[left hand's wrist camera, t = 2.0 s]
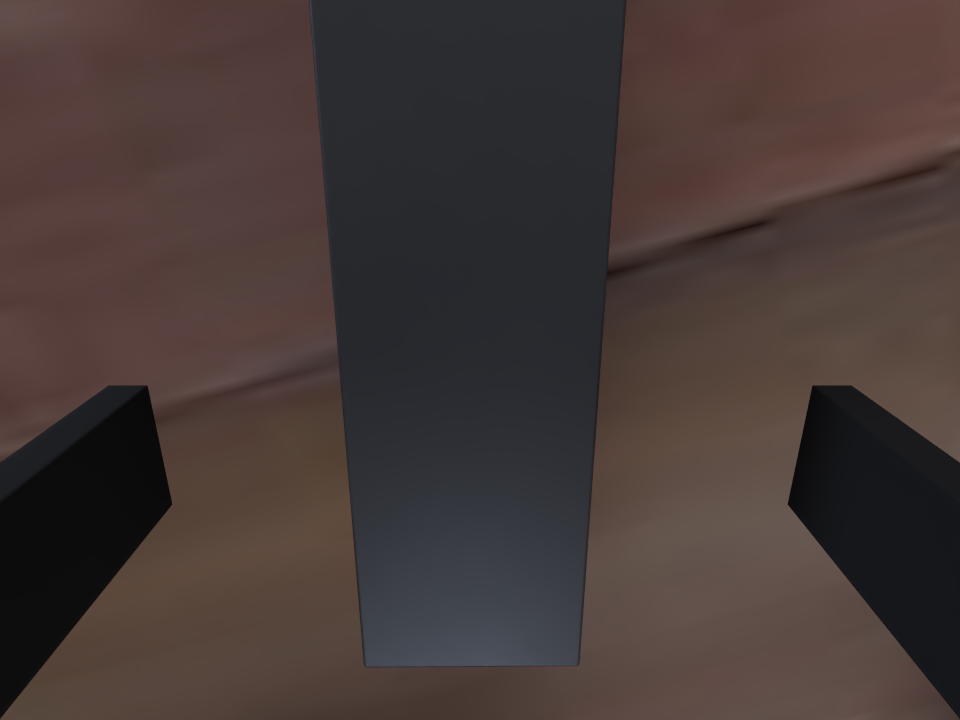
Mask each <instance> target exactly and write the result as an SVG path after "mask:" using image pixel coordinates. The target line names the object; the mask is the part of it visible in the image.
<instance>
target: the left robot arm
mask: <svg viewBox="0 0 960 720" xmlns="http://www.w3.org/2000/svg"><path fill="white" fill-rule="evenodd" d="M171 505H172V501H171V496H170V491H169V486H168V482H167V477H166V472H165V467H164V462H163V458H162V453H161V448H160V443H159V439H158V434H157V429H156V424H155V419H154V415H153V410H152V405H151V400H150V395H149V391H148V386H107V387H106V388H105V389H103V390H102V391H100V392H99V393H98V394H96V395H95V396H93V397H92V398H91V399H89V400H88V401H86V402H85V403H84V404H82V405H81V406H79V407H78V408H76V409H75V410H74V411H72V412H71V413H69V414H68V415H67V416H65V417H64V418H62V419H61V420H60V421H58V422H57V423H55V424H54V425H53V426H51V427H50V428H48V429H47V430H46V431H44V432H43V433H41V434H40V435H39V436H37V437H36V438H34V439H33V440H32V441H30V442H29V443H27V444H26V445H25V446H23V447H22V448H20V449H19V450H17V451H16V452H15V453H13V454H12V455H10V456H9V457H8V458H6V459H5V460H3V461H2V462H1V463H0V718H1V717H2V716H3V715H4V713H5V712H6V711H7V710H8V708H9V707H10V706H11V705H12V703H13V702H14V701H15V700H16V698H17V697H18V696H19V695H20V693H21V692H22V691H23V690H24V688H25V687H26V686H27V685H28V683H29V682H30V681H31V680H32V678H33V677H34V676H35V675H36V673H37V672H38V671H39V670H40V668H41V667H42V666H43V665H44V663H45V662H46V661H47V660H48V658H49V657H50V656H51V655H52V653H53V652H54V651H55V650H56V649H57V647H58V646H59V645H60V644H61V642H62V641H63V640H64V639H65V637H66V636H67V635H68V634H69V632H70V631H71V630H72V629H73V627H74V626H75V625H76V624H77V622H78V621H79V620H80V619H81V617H82V616H83V615H84V614H85V612H86V611H87V610H88V609H89V607H90V606H91V605H92V604H93V602H94V601H95V600H96V599H97V597H98V596H99V595H100V594H101V592H102V591H103V590H104V589H105V588H106V586H107V585H108V584H109V583H110V581H111V580H112V579H113V578H114V576H115V575H116V574H117V573H118V571H119V570H120V569H121V568H122V566H123V565H124V564H125V563H126V561H127V560H128V559H129V558H130V556H131V555H132V554H133V553H134V551H135V550H136V549H137V548H138V546H139V545H140V544H141V543H142V541H143V540H144V539H145V538H146V536H147V535H148V534H149V533H150V531H151V530H152V529H153V528H154V526H155V525H156V524H157V523H158V522H159V520H160V519H161V518H162V517H163V515H164V514H165V513H166V512H167V510H168V509H169V508H170V507H171ZM788 505H789V507H790V508H791V509H792V510H793V512H794V513H795V514H796V515H797V517H798V518H799V519H800V520H801V522H802V523H803V524H804V525H805V526H806V528H807V529H808V530H809V531H810V533H811V534H812V535H813V536H814V538H815V539H816V540H817V541H818V543H819V544H820V545H821V546H822V548H823V549H824V550H825V551H826V553H827V554H828V555H829V556H830V558H831V559H832V560H833V561H834V563H835V564H836V565H837V566H838V568H839V569H840V570H841V571H842V573H843V574H844V575H845V576H846V578H847V579H848V580H849V581H850V583H851V584H852V585H853V586H854V588H855V589H856V590H857V591H858V592H859V594H860V595H861V596H862V597H863V599H864V600H865V601H866V602H867V604H868V605H869V606H870V607H871V609H872V610H873V611H874V612H875V614H876V615H877V616H878V617H879V619H880V620H881V621H882V622H883V624H884V625H885V626H886V627H887V629H888V630H889V631H890V632H891V634H892V635H893V636H894V637H895V639H896V640H897V641H898V642H899V644H900V645H901V646H902V647H903V649H904V650H905V651H906V652H907V653H908V655H909V656H910V657H911V658H912V660H913V661H914V662H915V663H916V665H917V666H918V667H919V668H920V670H921V671H922V672H923V673H924V675H925V676H926V677H927V678H928V680H929V681H930V682H931V683H932V685H933V686H934V687H935V688H936V690H937V691H938V692H939V693H940V695H941V696H942V697H943V698H944V700H945V701H946V702H947V703H948V705H949V706H950V707H951V708H952V710H953V711H954V712H955V713H956V715H957V716H958V717H959V718H960V463H959V462H958V461H957V460H955V459H954V458H952V457H951V456H950V455H948V454H947V453H945V452H944V451H943V450H941V449H940V448H938V447H937V446H935V445H934V444H933V443H931V442H930V441H928V440H927V439H926V438H924V437H923V436H921V435H920V434H919V433H917V432H916V431H914V430H913V429H912V428H910V427H909V426H907V425H906V424H905V423H903V422H902V421H900V420H899V419H898V418H896V417H895V416H893V415H892V414H891V413H889V412H888V411H886V410H885V409H884V408H882V407H881V406H879V405H878V404H876V403H875V402H874V401H872V400H871V399H869V398H868V397H867V396H865V395H864V394H862V393H861V392H860V391H858V390H857V389H855V388H854V387H853V386H812V391H811V395H810V400H809V405H808V410H807V415H806V419H805V424H804V429H803V434H802V439H801V443H800V448H799V453H798V458H797V462H796V467H795V472H794V477H793V482H792V486H791V491H790V496H789V501H788Z"/></svg>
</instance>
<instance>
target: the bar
mask: <svg viewBox="0 0 960 720" xmlns="http://www.w3.org/2000/svg"><path fill="white" fill-rule="evenodd" d="M309 7H310V19H311V31H312V43H313V56H314V68H315V80H316V92H317V104H318V116H319V128H320V140H321V152H322V164H323V176H324V188H325V200H326V213H327V225H328V237H329V249H330V261H331V273H332V285H333V297H334V309H335V321H336V333H337V345H338V357H339V369H340V382H341V394H342V406H343V418H344V430H345V442H346V454H347V466H348V478H349V490H350V502H351V514H352V526H353V539H354V551H355V563H356V575H357V587H358V599H359V611H360V623H361V635H362V647H363V659H364V666H365V667H491V666H578V665H579V662H580V648H581V634H582V620H583V606H584V592H585V577H586V563H587V549H588V535H589V521H590V507H591V493H592V479H593V464H594V450H595V436H596V422H597V408H598V394H599V380H600V366H601V351H602V337H603V323H604V309H605V295H606V281H607V267H608V253H609V238H610V224H611V210H612V196H613V182H614V168H615V154H616V140H617V125H618V111H619V97H620V83H621V69H622V55H623V41H624V27H625V13H626V0H309Z"/></svg>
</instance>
